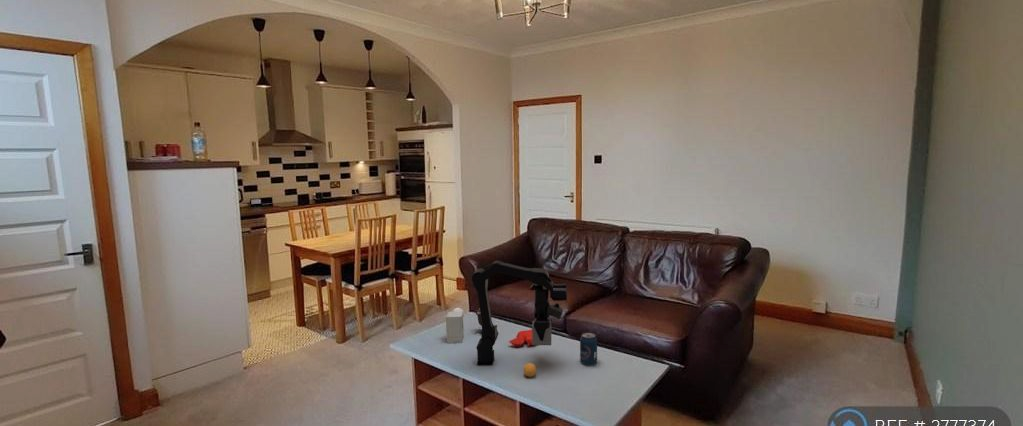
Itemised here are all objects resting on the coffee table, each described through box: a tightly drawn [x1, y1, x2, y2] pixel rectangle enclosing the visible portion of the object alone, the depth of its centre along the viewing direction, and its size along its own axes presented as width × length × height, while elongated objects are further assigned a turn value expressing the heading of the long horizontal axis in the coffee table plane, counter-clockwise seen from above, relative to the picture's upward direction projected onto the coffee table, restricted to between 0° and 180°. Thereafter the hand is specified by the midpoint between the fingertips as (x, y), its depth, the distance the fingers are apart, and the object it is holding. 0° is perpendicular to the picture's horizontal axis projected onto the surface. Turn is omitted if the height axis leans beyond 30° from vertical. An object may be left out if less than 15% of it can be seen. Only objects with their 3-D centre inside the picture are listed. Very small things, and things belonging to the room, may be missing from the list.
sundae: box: [475, 306, 482, 335], centre depth 233 cm, size 7×7×15 cm
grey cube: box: [531, 320, 552, 346], centre depth 198 cm, size 8×8×7 cm
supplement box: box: [445, 311, 465, 344], centre depth 226 cm, size 7×7×13 cm
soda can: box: [579, 332, 598, 367], centre depth 199 cm, size 7×7×12 cm
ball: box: [522, 362, 537, 378], centre depth 189 cm, size 5×5×5 cm
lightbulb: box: [451, 307, 465, 318], centre depth 239 cm, size 6×6×11 cm
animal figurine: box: [508, 328, 533, 348], centre depth 220 cm, size 12×15×5 cm
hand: (541, 336), depth 198 cm, fingers closed on grey cube, 8 cm apart
